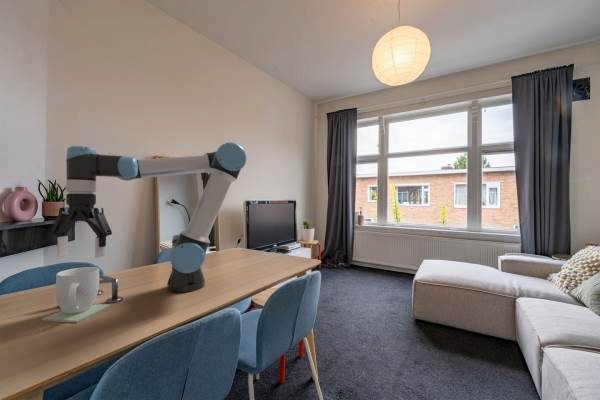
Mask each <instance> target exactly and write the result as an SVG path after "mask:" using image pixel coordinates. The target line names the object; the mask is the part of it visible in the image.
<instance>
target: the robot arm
mask: <svg viewBox="0 0 600 400" xmlns="http://www.w3.org/2000/svg"><path fill="white" fill-rule="evenodd" d="M66 150H67V151H66V159H65V162H66V165H65V166H66V181H65V182H66V184H65V185H66V186H65V192H67V194H66V195H65V204H66V205H67V206H68V207H59V209H58V215H57V217H56V219H55V221H54V223H53V225H52V227H51V230H50V235H52V236H55V238H56V243H55V244H56V247H57V257H58V258H60V257H64V256H68V255H69V249H68V248H69V236H68V233H69V232H70V230H71V229H72V227H73V226H74V225H75V224H76V222H84V223H86V224H87V225H88V226H89V227H90V228H91V230H92V231H93V233H95V235H96V237H95V239H94V258H95V259H99V258H103V257H105V248H106V245H107V237H108V236H111V235H112V234H113V231H112V230H111V227H110V224H109V223H108V221H107V217H106V216H105V214H104V208H103V207H95V205H96V203H97V202H96V201H97V195H96V194H95V193H96V191H97V177H105V178H106V177H107V178H109V177H110V178H118V179H120V180H122V181H132V180H139V179H146V178H158V177H169V176H170V177H171V176H180V175H181V176H182V175H191V174H192V175H193V174H200V173H201V174H202V173H203V174H204V173H207V174H208V175H209V178H208V180H207V183H206V185H205V188H204V189H203V191H202V194H201V195H200V196H201V197H200V199H199V201H198V203H197V206H196V207H195V209H194V212H193V214H192V216H191V219H190V221H189V223H188V225H187V227H186V229H184V230H182V231H181V232H180V233H179V234H174V235H173V236H172V240H171V243H172V244H171V253H170V256H169V257H170V258H169V260H170V264H171V272H170V275H169V278H168V281H167V285H166V289H167V291H169V292H171V293H189V292H192V291H197V290H200V289H202V288H203V287H204V286H205V285H206V279H205V276H204V273H203V270H202V266H203V264H204V262H205V259H206V252H207V250H208V248H209V246H210V244H211V241H210V239H209V235H210V233H211V231H212V228H213V226H214V224H215V221H216V219H217V217H218V214H219V212H220V210H221V207H222V205H223V202H224V200H225V198H226V197H227V194H228V191H229V189H230V187H231V184H232V183H234V182H236V181H237V179H238V177H239V174H240V172H241V170H242V169H243V168H244V167H245V165H246V163H247V153H246V151H245V150H244V148H243V147H242V146H241V145H240V144H238V143H235V142H226V143H222V144H221V145H220V146H219V147H218V148H217V150H216V151H212V152H206V153H204V154H203V155H195V156H194V155H193V156H175V157H174V156H173V157H161V158H159V157H158V158H146V159H137V158H136V157H134V156H127V155H110V154H109V155H107V154H99V153H97V150H96V148H93V147H89V146H82V145H81V146H79V145H73V146H72V145H71V146H69V147H68V148H67V149H66Z"/></svg>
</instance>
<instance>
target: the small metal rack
mask: <svg viewBox="0 0 600 400" xmlns="http://www.w3.org/2000/svg"><path fill="white" fill-rule="evenodd" d="M100 284H111V297H109V298H107V299H106V300H105V302H106V303H107V304H115V303H120V302H121V301H123V300H124V298H123V296H121V295H120V296H119V293H118V292H119V278H115V277H111V276H107V275H103V274H100V273H99V285H100ZM102 293H103V294H104V290H102V289H100V290H99V289H98V294H97V296H100V295H103V294H102ZM57 309H61V308H60V307H59V305H58V304H57Z"/></svg>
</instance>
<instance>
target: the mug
mask: <svg viewBox="0 0 600 400" xmlns="http://www.w3.org/2000/svg"><path fill="white" fill-rule="evenodd" d="M99 274H100V268H99V267H94V266H93V267H92V266H86V267H77V268H70V269H65V270H61V271H59V272H57V273H56V274H55V295H56V300H57V303H58V304H57V306H58V305H59V307H60V308H59V309H60V311H63V312H64V313H66V314H75V313H80V312H83V311H86V310H88V309H89V308H91V306H92V305H93V304H95V301H96V299H97V297H98V295H97V294H98V290H99V286H100V284H99V280H100V278H99Z"/></svg>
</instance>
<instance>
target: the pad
mask: <svg viewBox="0 0 600 400" xmlns="http://www.w3.org/2000/svg"><path fill="white" fill-rule="evenodd" d="M111 306H112V305H111V304H105V303H104V304H102V303H101V304H99V303H93V305H92V306H91V308H89V309H88V310H86V311H83V312H80V313H75V314H66V313H64V312H63V311H62V310H60V311H58V312H55V313H52V314H50V315H48V316H45V317H43V318H42V321H43V322H59V323H73V324H79V323H80V322H82V321H84V320H86V319H88V318H90V317H92V316H95V315H97V314H99V313H100V312H103V311H105V310H107V309H108V308H111Z"/></svg>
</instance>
